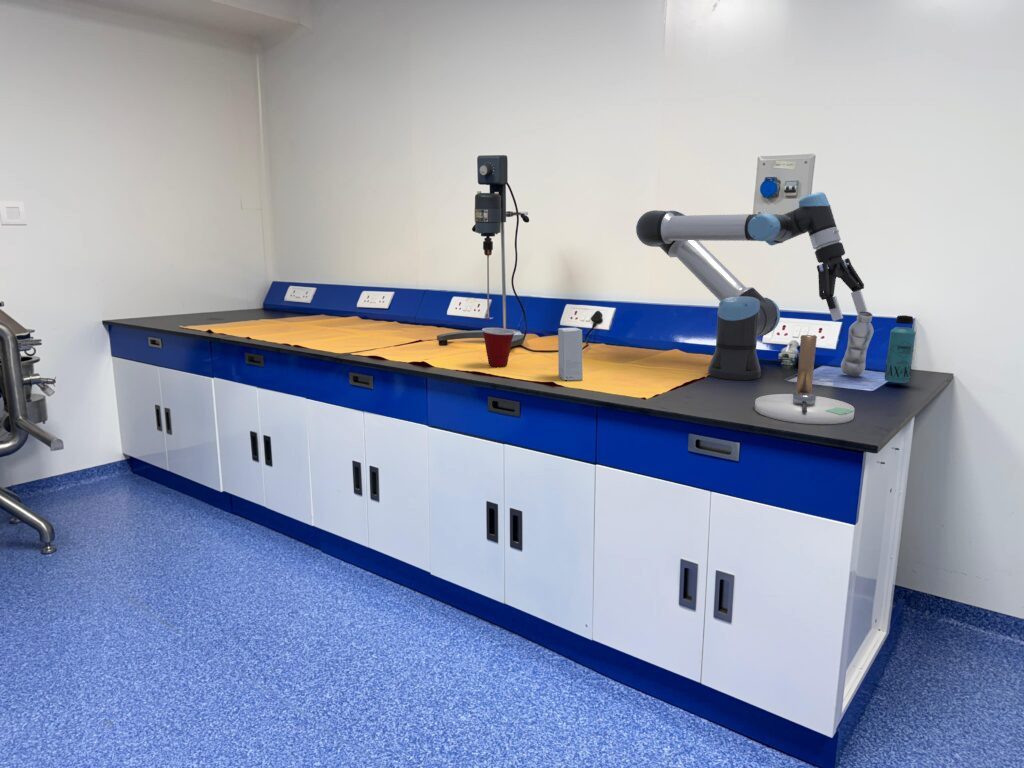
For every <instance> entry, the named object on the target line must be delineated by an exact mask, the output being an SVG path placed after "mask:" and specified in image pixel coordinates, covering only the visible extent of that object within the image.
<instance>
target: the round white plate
mask: <svg viewBox="0 0 1024 768" xmlns="http://www.w3.org/2000/svg"><path fill="white" fill-rule="evenodd" d="M793 394H794V393H777V394H776V393H775V394H766V395H762V396H759V397H757V398H755V400H754V401H755V402H754V403H755V404H754V410H755V412H757V414H760V415H762V416H765V417H767V418H771V419H774V420H778V421H783V422H790V423H796V424H807V425H838V424H840V425H841V424H844V423H845V424H846V423H849V422H851V421H853V420H854V418H855V407H854V406H853V405H851V404H850V403H847V402H845V401H842V400H838V399H833V398H830V397H824V396H817V395H816V401H815V405H807V412H802V405H798V404H795V403H793Z"/></svg>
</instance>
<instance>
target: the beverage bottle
mask: <svg viewBox="0 0 1024 768" xmlns="http://www.w3.org/2000/svg"><path fill="white" fill-rule="evenodd" d="M895 323H896V324H899V325H900V324H903V325H912V324H913V323H914V317H913V316H912V315H897V316H896V321H895ZM916 334H917V333H916V331H915V330H914V329H913V328H911V327H905V326H904V327H903V326H895V327H894V328H892V329H891V330H890V335H889V342H888V350H887V352H886V363H885V369H884V376H883V377H884V381H886V382H888V383H889V382H890V383H894V384H895V383H897V384H898V383H899V384H904V383H905V384H907V383H909V382H910V380H911V371H912V364H913V360H914V359H913V357H914V356H913V355H914V345H915V338H916Z"/></svg>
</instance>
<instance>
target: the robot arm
mask: <svg viewBox="0 0 1024 768" xmlns="http://www.w3.org/2000/svg"><path fill="white" fill-rule="evenodd" d="M829 202H830V201H829V200H828V198H827V195H826V193H825V192H823V191H817V192H815V193H812V194H809V195H806V196H804V197H803V198H800V199H799V201H798V207H797V208H796V209H794V210H791V211H788V212H787V213H786V212H785V213H784V214H774V213H773V214H772V213H770V212H769V213H765V212H763V213H753V214H751V213H747V214H745V213H744V214H743V213H742V214H701V215H700V214H699V215H698V214H697V215H696V214H695V215H686V214H684V213H682V212H679V211H676V210H649V211H647V212H644V213H643V214H641V216H640V217H639V219H638V220H637V223H636V226H635V233H636V236H637V238H638V239H639V241H640V242H641V244H643V245H646V246H648V247H651V248H652V247H656V248H657V247H658V248H660V249H662V251H663V252H664V253H665V254H666V255H667V256H668V257H670V258H677V259H678V260H679V261H680V262H681V263H682V264H683V265H684V267H686V269H688V271H690V272H691V274H693V275H694V276H695V277H696V278H697V279H698V281H699V282H701V284H702V285H703V286H705V288H706V289H707V290H709V292H710V293H711V294H712V295H713V296H714V297H715V298H716V299H717V300H718V301H719V304H718V309H717V321H716V323H717V324H716V337H715V338H716V342H715V351H714V352H713V355H712V357H711V359H710V363H709V364H708V365H709V366H708V373H707V374H708V375H709V376H710V377H714V378H718V379H723V380H732V381H733V380H734V381H735V380H736V381H751V380H756V379H757V380H758V379H760V377H761V373H762V372H761V371H762V370H761V364H760V362H759V358H758V354H757V343H758V337H764V336H766V335H769V334H770V333H772V332H773V331H774V330H775V329H776V328H777V327H778V325H779V323H780V319H781V311H780V307H779V306H778V304H777V303H776V302H775V301H774V300H772V299H771V298H768V297H764V296H763V295H762V294H760V293H759V292H758V290H756V288H755V287H753V286H752V287H750V286H749V287H747V286H745V285H744V284H743V283H742V282H741V281H740V280H739V279H738V278H737V277H736V276H735V275H734V274H733V273H732V272H731V271H730V270H729V269H728V268H727V267H726V266H725V265H724V264H723V263H722V262H721V261H720V260H719V259H718V258H717V257H716V256H715V255H714V254H713V253H712V252H711V251H710V250H709V249H707V247H706V246H705V245H704V244H703V243H701V242H702V241H710V242H711V241H716V242H717V241H719V242H720V241H721V242H723V241H727V242H728V241H734V242H735V241H742V242H743V241H747V242H749V241H751V242H754V241H755V242H765V243H766V244H768V245H769V246H775V245H778V244H783V243H784V242H786V241H789V240H791V239H793V238H796V237H798V236H800V235H803V234H806V233H808V236H809V238H810V242H811V245H812V248H813V249H814V250H815V252H814V254H815V258H816V261H817V263H818V265H816V269H817V272H818V275H817V276H818V278H817V279H818V296H819V298H820V299H821V300H822V301H824V300H825V301H826V304H827V307H828V311H829V313H830V316H831V319H832V322H835V321H838V320H842V319H844V316H843V313H842V311H841V307H840V304H839V300H838V298H837V296H836V295H835V287H836V280H837V278H838V279H841V280H842V282H843V283H844V284H845V285H846V286H847V288H848V289H849V290H850V291H852V292H851V293H850V296H851V298H852V301H853V304H854V307H855V310H856V313H857V315H858V313H859V312H861V311H867V312H868V308H867V305H866V302H865V299H864V295H863V293H862V290H863V289H864V288H865V284H864V282H863V280H862V278H860V276H859V274H858V273H857V270H856V269H855V267H853V265H852V262H851V260H850V258H849V257H847V258H844V259H843V258H842V257H843V256H844V255H846V250H845V248H844V244H843V242H841V240H842V239H841V237H840V230H839V229H838V227H837V224H836V220H835V218H834V213H833V211H832V208H831V204H830V203H829Z"/></svg>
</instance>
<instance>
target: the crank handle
mask: <svg viewBox="0 0 1024 768" xmlns="http://www.w3.org/2000/svg"><path fill="white" fill-rule="evenodd" d="M817 340H818V338H817V336H816V335H810V334H803V335H801V336H800V342H799V357H798V364H797V365H798V366H797V375H796V376H797V377H796V388H795V389H796V390H795V392H794V393H792V394H793V403H795V404H798V405H802V412H807V405H815V401H816V396H817V395H816V394H814V393H812V392H813V379H814V371H815V369H814V368H815V359H816V348H817Z"/></svg>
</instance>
